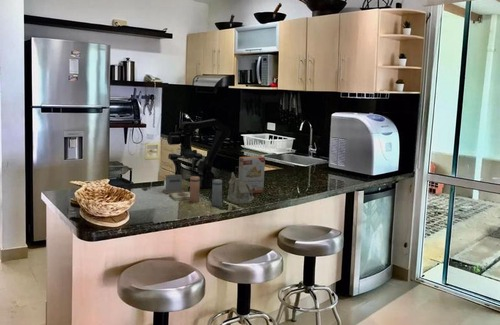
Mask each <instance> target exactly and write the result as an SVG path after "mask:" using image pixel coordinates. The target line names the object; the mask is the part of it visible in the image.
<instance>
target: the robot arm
mask: <svg viewBox="0 0 500 325" xmlns="http://www.w3.org/2000/svg"><path fill="white" fill-rule="evenodd" d="M211 127H212V128H213V130H215V138H214V140H213V142H212V144H211V146H210V148H209V150H208V152H207V154H206V156H205V158H204V159H203V154H202V153H200V152H198V151H197V149H192V137H195V134H194V133H193V132H195V131H196V130H199V129H205V128H211ZM230 134H231V129H230V127H229V126H227V125H225V124H223V123H222V122H220V121H219V120H218V119H215V118H211V119H205V120H200V121H195V122H194V121H193V122H191V121H181V122H180V124H179V127H178V128H177V130H176V131H175V132H169V133H168V135H167V138H166V141H167V144H168V145H170V146H175V145H180V146H179V147H180V152H179V154H177V153H169V154H168V156H167V157H168V160H170V161H172V162H173V164H174V168H175V170H176V172H179V159H186V160H189V159H190V160H192V161H191V163H192V164H191V170H192V172H193V171H194V170H195V167H196V168H197V169H196V171H197V173H198V175H199V177H200V182H199V188H202V189H204V190H205V189H212V188H213V184H212V183H213V179H214V178H215V174H214V173H213V171H212V170H213V163H214V161H215V158H216V156H217V154H218V151H219V150H220V149H221V145H222V144H223V142H224V141H225V140H227V138H228V137H229V136H230ZM197 163H198V165H197Z"/></svg>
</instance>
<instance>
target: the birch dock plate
mask: <svg viewBox="0 0 500 325" xmlns="http://www.w3.org/2000/svg"><path fill="white" fill-rule="evenodd" d="M168 197H169V198H171V199H173V201H175V202H177V201H188V200H189V201H190V191H185V192H180V193H169V194H168Z"/></svg>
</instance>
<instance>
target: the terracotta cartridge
mask: <svg viewBox="0 0 500 325" xmlns="http://www.w3.org/2000/svg"><path fill="white" fill-rule="evenodd" d="M200 180H201V176H200V175H199V176H198V175H191V176H190V177H189V192H190V200H189V202H190V203H194V204H195V203H199V202H200Z"/></svg>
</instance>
